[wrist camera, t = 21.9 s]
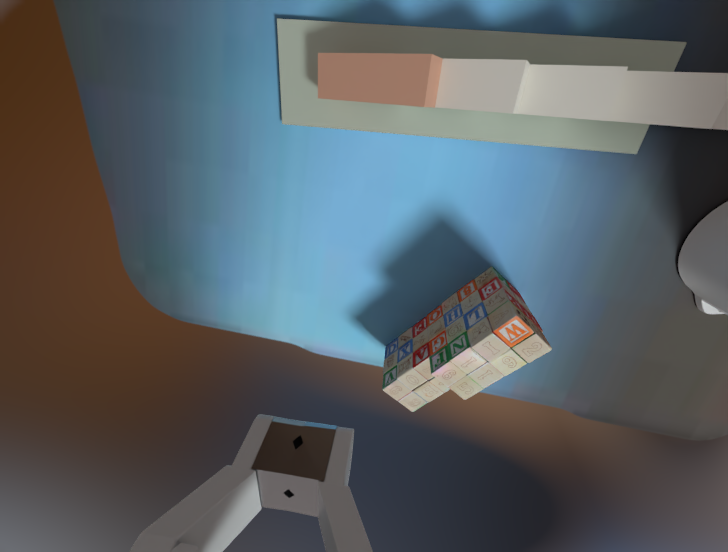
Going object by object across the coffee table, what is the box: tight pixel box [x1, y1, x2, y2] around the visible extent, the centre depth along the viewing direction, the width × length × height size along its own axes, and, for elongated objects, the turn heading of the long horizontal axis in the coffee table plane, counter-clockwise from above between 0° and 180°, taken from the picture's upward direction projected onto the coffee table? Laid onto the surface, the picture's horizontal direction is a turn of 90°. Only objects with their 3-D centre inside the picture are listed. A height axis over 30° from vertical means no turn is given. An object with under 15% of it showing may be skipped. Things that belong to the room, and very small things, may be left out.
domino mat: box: [277, 18, 687, 154], centre depth 35 cm, size 40×10×1 cm, turn 86°
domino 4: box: [607, 71, 728, 129], centre depth 30 cm, size 3×4×12 cm
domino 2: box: [435, 59, 530, 114], centre depth 31 cm, size 3×4×12 cm
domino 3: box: [517, 64, 628, 121], centre depth 31 cm, size 3×4×12 cm
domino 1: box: [318, 53, 443, 108], centre depth 32 cm, size 3×4×12 cm
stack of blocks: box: [382, 267, 552, 412], centre depth 44 cm, size 21×6×12 cm, turn 138°
